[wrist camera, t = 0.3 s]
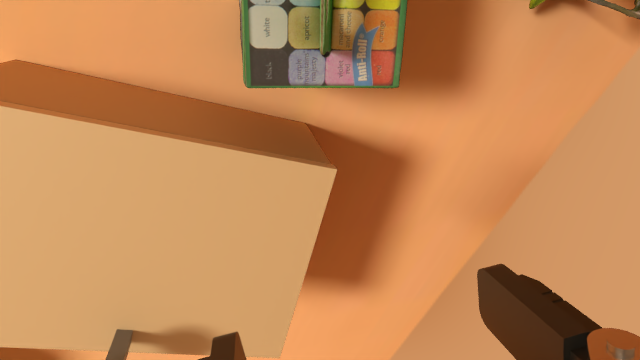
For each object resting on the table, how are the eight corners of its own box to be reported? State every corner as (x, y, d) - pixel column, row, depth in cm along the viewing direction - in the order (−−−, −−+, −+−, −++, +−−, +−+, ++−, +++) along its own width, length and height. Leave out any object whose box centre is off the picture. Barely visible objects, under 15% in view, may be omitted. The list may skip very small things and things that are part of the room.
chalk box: (350, 67, 33) (427, 106, 20) (240, 66, 31) (245, 107, 18) (358, -58, 29) (460, -114, 16) (235, -68, 28) (236, -140, 14)
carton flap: (-95, 82, 19) (-238, 114, 13) (334, 165, 25) (363, 210, 19) (-69, 334, 24) (-162, 434, 19) (278, 349, 31) (288, 428, 25)
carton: (15, 59, 28) (-88, 83, 19) (305, 123, 34) (331, 164, 25) (16, 246, 33) (-64, 333, 24) (266, 272, 40) (276, 348, 31)
